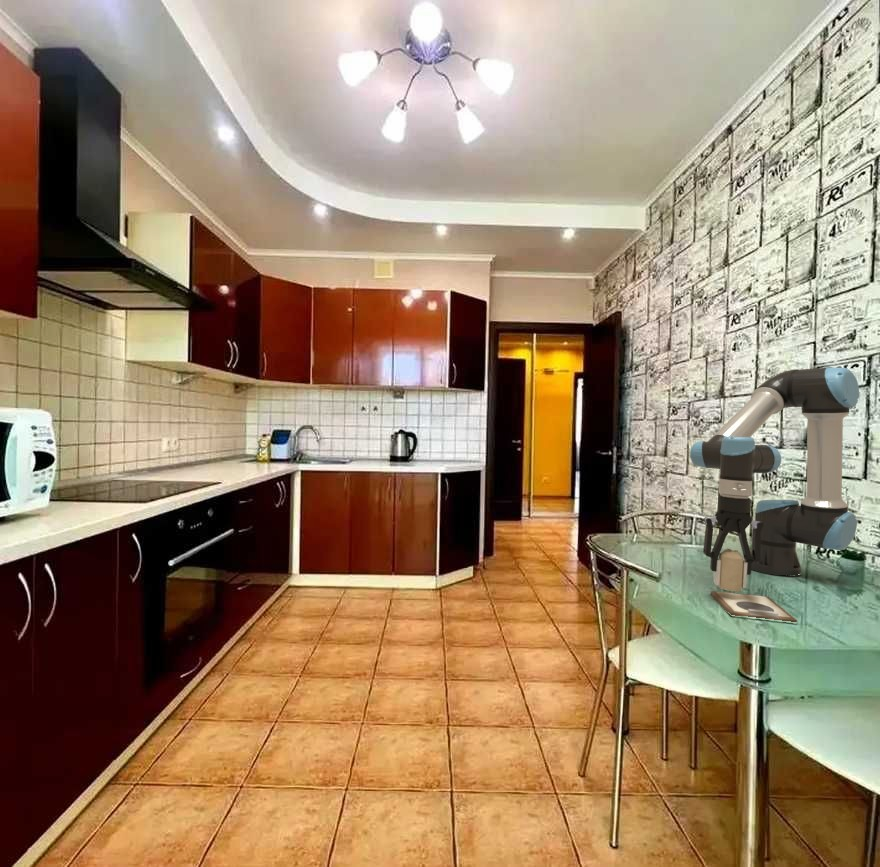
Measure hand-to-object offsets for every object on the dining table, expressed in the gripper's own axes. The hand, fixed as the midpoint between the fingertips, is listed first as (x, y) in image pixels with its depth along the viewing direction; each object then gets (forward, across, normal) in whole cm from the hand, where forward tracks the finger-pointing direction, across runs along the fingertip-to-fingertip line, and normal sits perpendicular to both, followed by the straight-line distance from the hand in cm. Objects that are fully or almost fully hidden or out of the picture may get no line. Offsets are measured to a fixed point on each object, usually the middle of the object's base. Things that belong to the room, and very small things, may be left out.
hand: (729, 585), depth 140 cm
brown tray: (+4, +4, -4) cm, 7 cm away
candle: (+1, 0, 0) cm, 1 cm away
